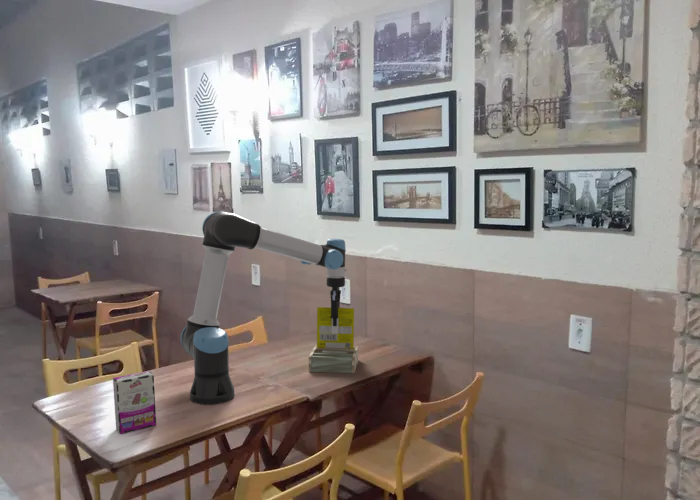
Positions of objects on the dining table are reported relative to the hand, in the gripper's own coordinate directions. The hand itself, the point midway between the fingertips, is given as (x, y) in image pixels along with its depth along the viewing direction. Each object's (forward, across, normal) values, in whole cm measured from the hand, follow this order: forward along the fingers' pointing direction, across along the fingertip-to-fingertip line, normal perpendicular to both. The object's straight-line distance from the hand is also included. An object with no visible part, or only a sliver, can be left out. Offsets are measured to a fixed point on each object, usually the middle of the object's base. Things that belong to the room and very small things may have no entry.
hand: (335, 332), depth 244 cm
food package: (+10, 0, 0) cm, 10 cm away
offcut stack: (+12, -5, 0) cm, 13 cm away
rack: (+12, -5, 0) cm, 13 cm away
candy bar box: (+14, -71, +53) cm, 89 cm away
